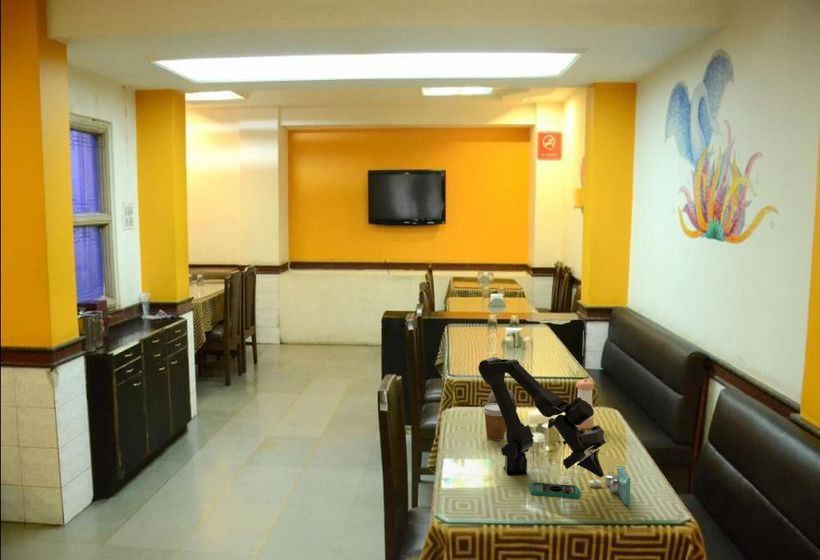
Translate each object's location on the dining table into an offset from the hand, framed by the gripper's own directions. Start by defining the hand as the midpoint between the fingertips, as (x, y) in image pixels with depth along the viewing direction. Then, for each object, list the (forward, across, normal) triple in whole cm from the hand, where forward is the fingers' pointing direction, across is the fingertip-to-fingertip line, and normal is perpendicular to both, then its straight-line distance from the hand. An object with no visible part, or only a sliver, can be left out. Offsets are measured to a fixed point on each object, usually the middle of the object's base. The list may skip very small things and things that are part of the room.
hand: (602, 476), depth 198 cm
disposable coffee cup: (-32, +23, +43) cm, 58 cm away
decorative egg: (-36, +38, +48) cm, 71 cm away
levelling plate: (+6, +4, +4) cm, 8 cm away
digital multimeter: (-3, -6, +14) cm, 16 cm away
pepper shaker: (-18, +57, +29) cm, 66 cm away
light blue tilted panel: (+8, +3, +1) cm, 8 cm away
